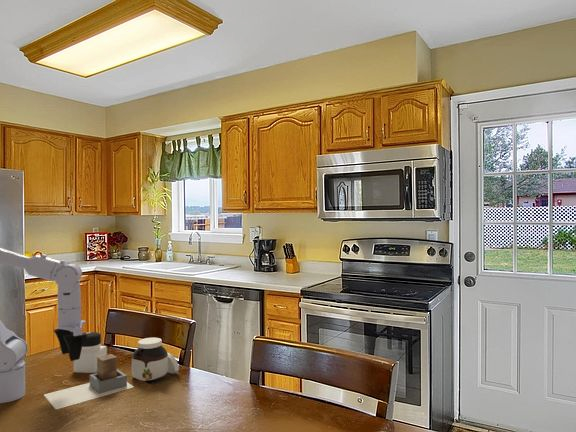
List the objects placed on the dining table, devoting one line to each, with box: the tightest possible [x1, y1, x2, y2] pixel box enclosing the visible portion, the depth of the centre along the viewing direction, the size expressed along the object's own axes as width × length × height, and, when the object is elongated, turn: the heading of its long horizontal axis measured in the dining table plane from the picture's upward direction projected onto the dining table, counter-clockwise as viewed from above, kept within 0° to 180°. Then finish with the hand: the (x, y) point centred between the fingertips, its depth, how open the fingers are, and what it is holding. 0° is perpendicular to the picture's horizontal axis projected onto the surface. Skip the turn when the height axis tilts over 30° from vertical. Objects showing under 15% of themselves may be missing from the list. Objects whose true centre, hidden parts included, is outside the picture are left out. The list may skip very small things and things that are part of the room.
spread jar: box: [131, 337, 179, 384], centre depth 130 cm, size 12×11×12 cm
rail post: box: [96, 353, 118, 381], centre depth 121 cm, size 4×4×8 cm
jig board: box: [43, 368, 135, 410], centre depth 117 cm, size 20×12×4 cm, turn 133°
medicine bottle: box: [73, 331, 108, 374], centre depth 135 cm, size 7×7×12 cm
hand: (70, 356), depth 118 cm, fingers open, 7 cm apart
